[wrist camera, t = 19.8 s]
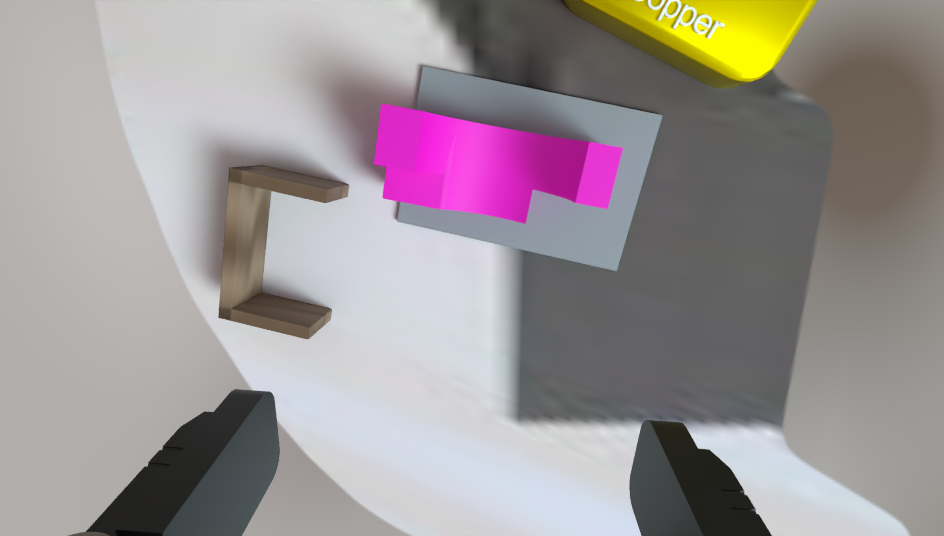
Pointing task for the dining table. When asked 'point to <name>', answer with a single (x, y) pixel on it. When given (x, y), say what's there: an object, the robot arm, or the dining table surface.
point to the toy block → (486, 165)
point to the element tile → (704, 33)
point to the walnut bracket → (248, 250)
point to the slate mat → (549, 217)
